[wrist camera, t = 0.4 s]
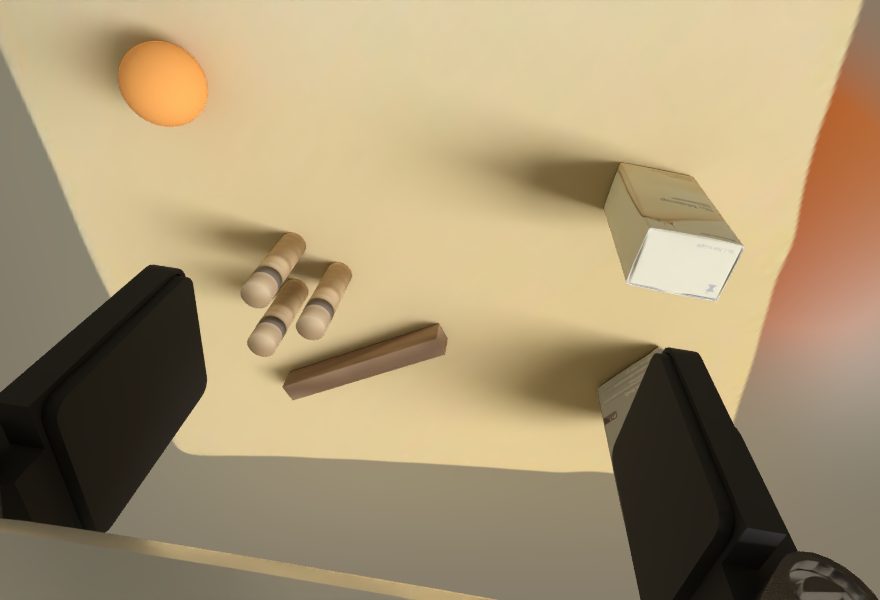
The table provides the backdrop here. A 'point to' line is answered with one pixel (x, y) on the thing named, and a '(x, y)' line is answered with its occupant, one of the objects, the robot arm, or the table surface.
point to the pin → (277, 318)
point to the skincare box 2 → (670, 233)
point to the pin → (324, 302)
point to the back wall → (367, 362)
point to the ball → (162, 83)
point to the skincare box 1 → (621, 398)
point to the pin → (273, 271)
